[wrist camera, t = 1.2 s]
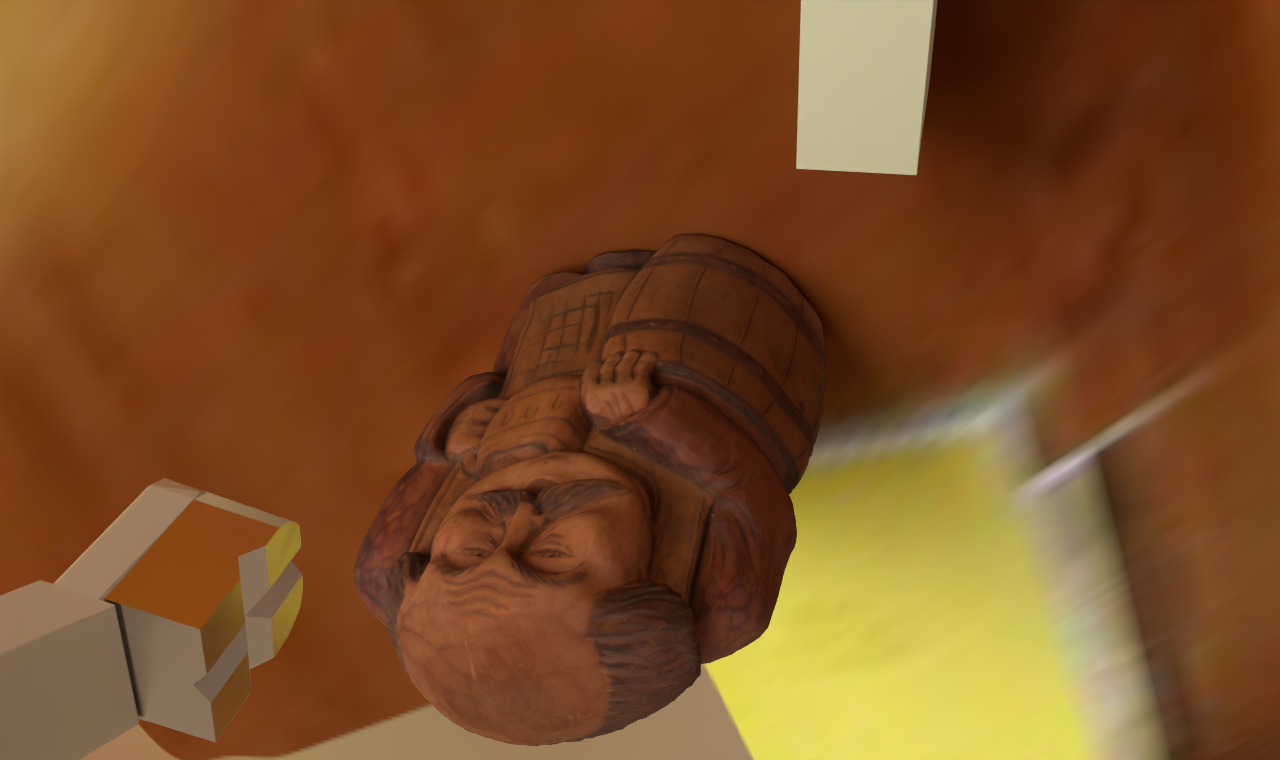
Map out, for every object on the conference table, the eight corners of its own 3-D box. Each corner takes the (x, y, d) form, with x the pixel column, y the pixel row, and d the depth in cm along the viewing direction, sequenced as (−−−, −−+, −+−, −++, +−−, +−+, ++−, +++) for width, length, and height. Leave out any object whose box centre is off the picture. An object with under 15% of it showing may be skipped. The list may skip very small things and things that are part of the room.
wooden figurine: (802, 206, 35) (673, 592, 21) (845, 365, 38) (758, 796, 24) (498, 266, 40) (224, 615, 26) (558, 403, 43) (343, 783, 29)
